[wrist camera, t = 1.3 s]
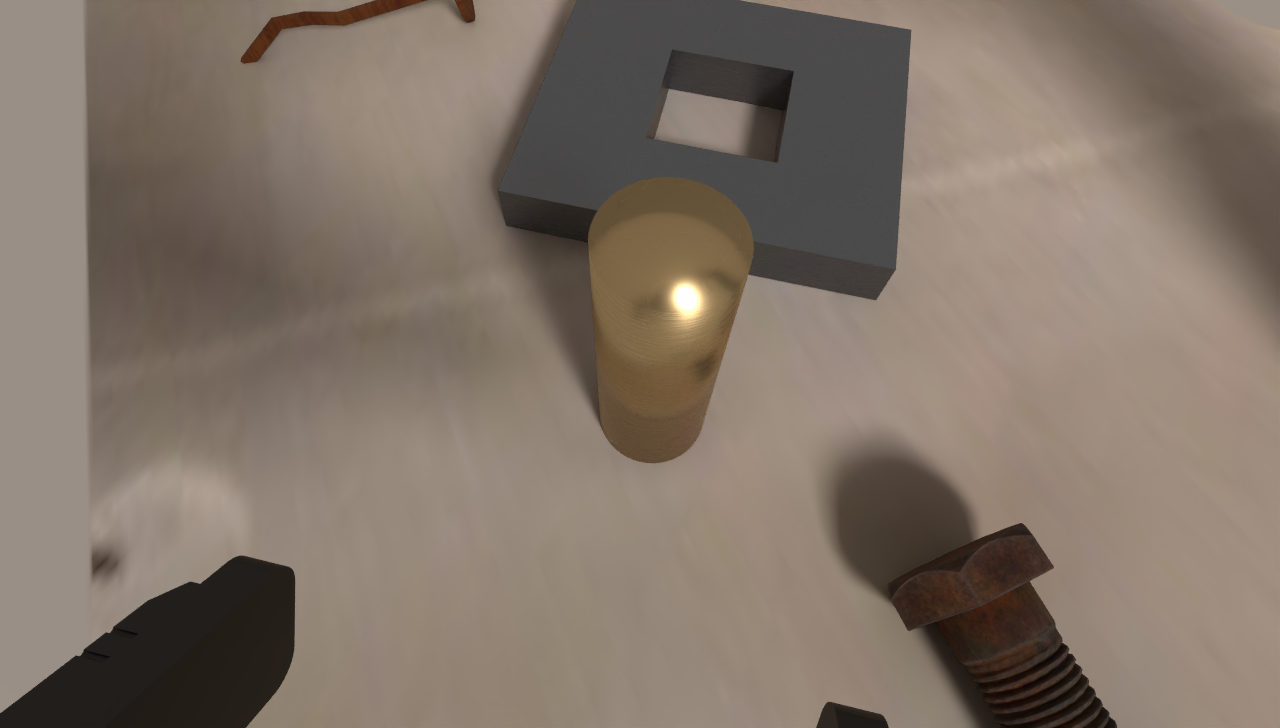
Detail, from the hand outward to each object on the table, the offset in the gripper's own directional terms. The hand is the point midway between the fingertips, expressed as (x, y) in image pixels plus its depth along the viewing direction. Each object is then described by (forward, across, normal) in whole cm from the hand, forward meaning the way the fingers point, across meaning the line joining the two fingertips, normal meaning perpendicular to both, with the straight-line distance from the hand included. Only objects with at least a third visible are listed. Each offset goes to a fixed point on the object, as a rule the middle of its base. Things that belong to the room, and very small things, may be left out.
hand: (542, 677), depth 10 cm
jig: (+30, 0, -8) cm, 31 cm away
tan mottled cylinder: (+19, 0, +3) cm, 19 cm away
